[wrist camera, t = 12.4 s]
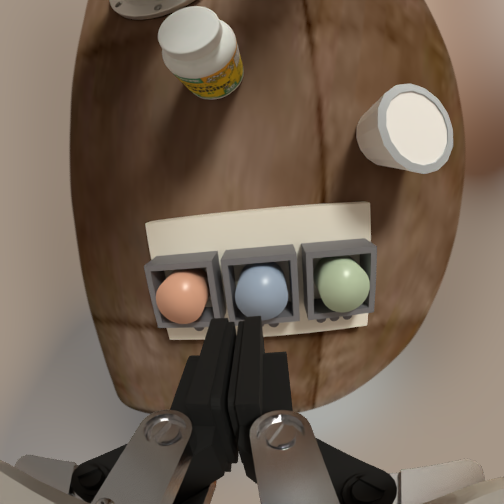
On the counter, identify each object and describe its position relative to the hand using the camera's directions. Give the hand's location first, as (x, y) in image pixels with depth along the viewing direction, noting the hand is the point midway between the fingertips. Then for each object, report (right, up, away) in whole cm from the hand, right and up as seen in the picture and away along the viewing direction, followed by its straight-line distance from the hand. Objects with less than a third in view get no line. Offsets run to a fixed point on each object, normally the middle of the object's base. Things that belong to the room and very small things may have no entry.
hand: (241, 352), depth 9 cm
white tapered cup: (+13, +14, +14) cm, 23 cm away
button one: (-5, 0, +16) cm, 17 cm away
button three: (+8, +2, +15) cm, 17 cm away
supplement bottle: (-3, +20, +13) cm, 24 cm away
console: (+1, +2, +17) cm, 17 cm away
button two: (+1, +1, +15) cm, 15 cm away
